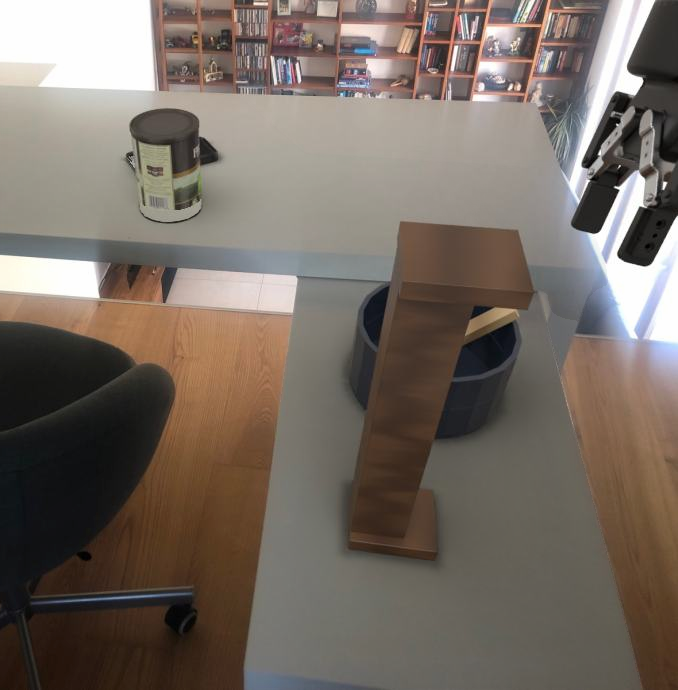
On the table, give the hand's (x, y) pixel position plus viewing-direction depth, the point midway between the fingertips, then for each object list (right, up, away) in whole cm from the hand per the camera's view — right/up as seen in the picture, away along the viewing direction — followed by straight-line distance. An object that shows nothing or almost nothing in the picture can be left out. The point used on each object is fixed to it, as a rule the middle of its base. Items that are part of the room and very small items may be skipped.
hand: (606, 245), depth 51 cm
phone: (-37, +25, +71) cm, 84 cm away
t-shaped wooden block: (-2, -7, +28) cm, 29 cm away
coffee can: (-37, +15, +60) cm, 72 cm away
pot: (-5, -12, +30) cm, 33 cm away
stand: (-12, -25, +16) cm, 32 cm away
